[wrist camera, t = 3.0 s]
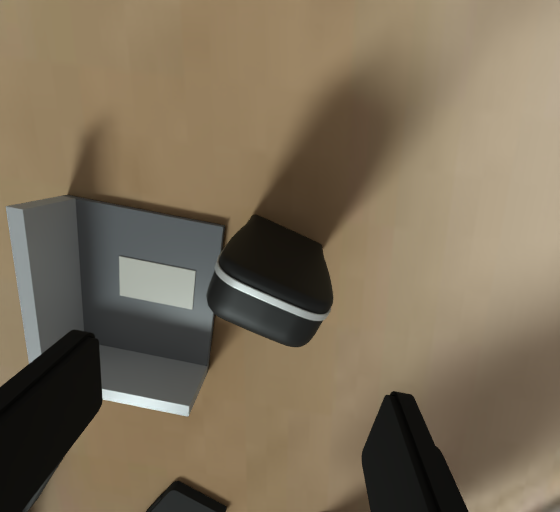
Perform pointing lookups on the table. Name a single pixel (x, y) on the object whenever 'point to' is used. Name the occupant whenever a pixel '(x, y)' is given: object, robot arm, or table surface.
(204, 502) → the smart home device
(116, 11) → the table surface
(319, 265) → the battery charger
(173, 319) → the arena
